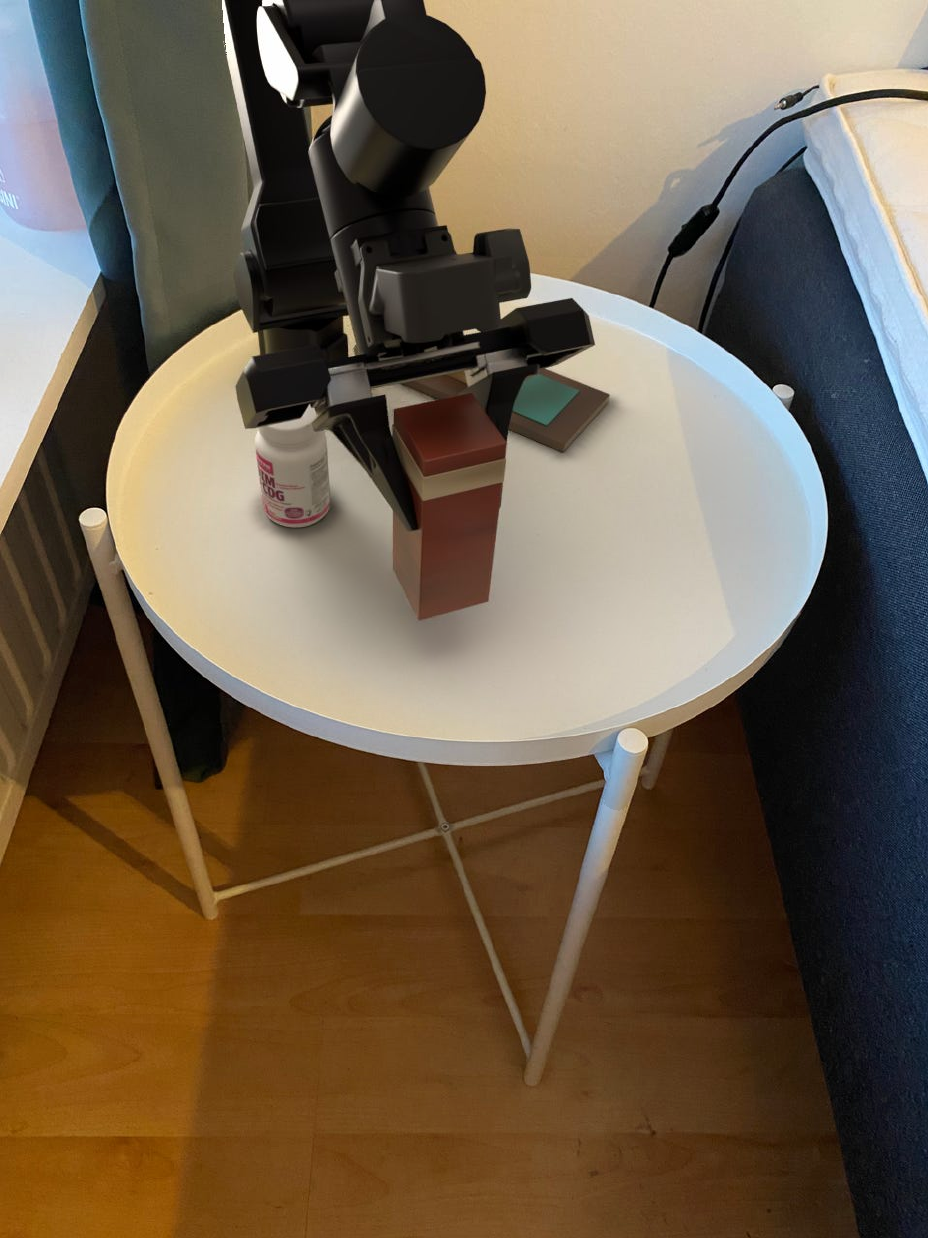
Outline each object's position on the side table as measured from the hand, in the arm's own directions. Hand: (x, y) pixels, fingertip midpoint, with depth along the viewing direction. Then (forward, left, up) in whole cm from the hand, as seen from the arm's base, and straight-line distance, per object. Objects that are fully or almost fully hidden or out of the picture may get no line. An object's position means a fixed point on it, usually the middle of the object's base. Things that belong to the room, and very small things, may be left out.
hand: (454, 520), depth 53 cm
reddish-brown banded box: (-1, +1, -7) cm, 7 cm away
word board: (-12, +26, -11) cm, 31 cm away
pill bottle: (-16, +5, -11) cm, 20 cm away
